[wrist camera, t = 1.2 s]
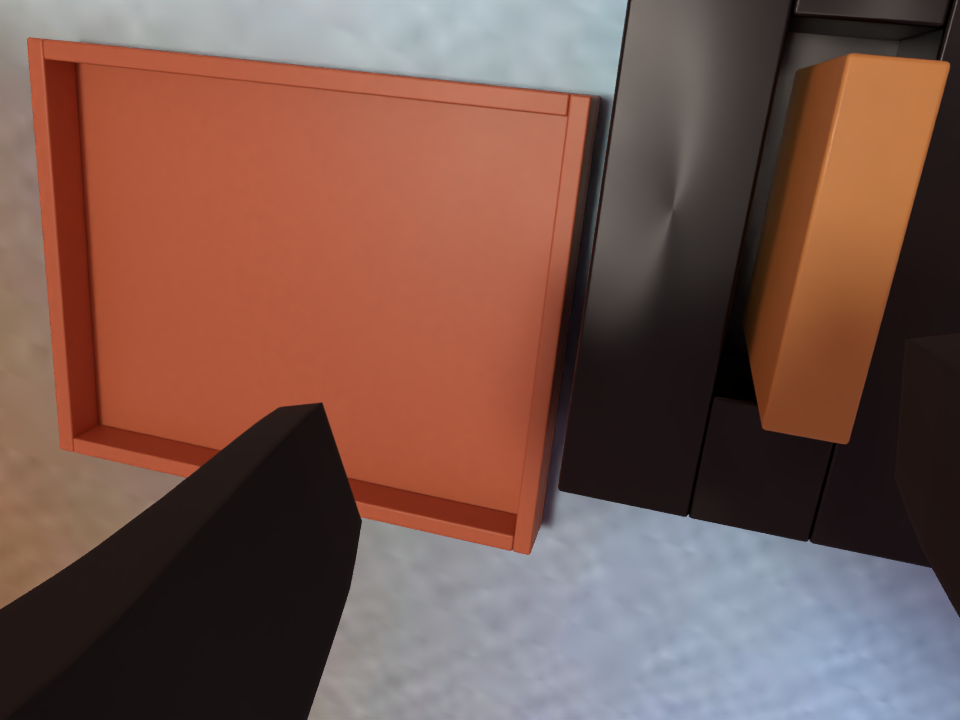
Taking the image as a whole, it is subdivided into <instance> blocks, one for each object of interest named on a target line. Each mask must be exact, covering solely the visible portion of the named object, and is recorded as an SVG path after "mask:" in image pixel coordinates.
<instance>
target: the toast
mask: <svg viewBox="0 0 960 720" xmlns="http://www.w3.org/2000/svg"><path fill="white" fill-rule="evenodd" d="M949 70H950V63H949V62H947V61H939V60H928V59H916V58H905V57H893V56H882V55H870V54H859V53H851V54H847V55H844V56H841V57H838V58H835V59H831V60H828V61H825V62H822V63H818V64H815V65H812V66H809V67H806V68H802V69H799V70H797V71H796V72H795V76H794V81H793V86H792V90H791V95H790V100H789V104H788V109H787V114H786V119H785V123H784V128H783V133H782V138H781V142H780V147H779V152H778V156H777V161H776V166H775V171H774V175H773V180H772V185H771V190H770V194H769V199H768V204H767V208H766V213H765V218H764V223H763V227H762V232H761V237H760V242H759V246H758V251H757V256H756V260H755V265H754V270H753V275H752V279H751V284H750V289H749V294H748V298H747V303H746V308H745V312H744V317H743V322H742V324H743V329H744V334H745V340H746V345H747V350H748V355H749V361H750V366H751V371H752V377H753V382H754V387H755V393H756V398H757V403H758V409H759V414H760V419H761V425H762V428H763V429H764V430H768V431H774V432H779V433H785V434H790V435H796V436H801V437H807V438H812V439H818V440H823V441H829V442H834V443H840V444H847V443H848V442H849V440H850V436H851V432H852V429H853V425H854V421H855V417H856V414H857V410H858V406H859V403H860V399H861V395H862V392H863V388H864V384H865V381H866V377H867V373H868V369H869V366H870V362H871V358H872V355H873V351H874V347H875V344H876V340H877V336H878V332H879V329H880V325H881V321H882V318H883V314H884V310H885V307H886V303H887V299H888V295H889V292H890V288H891V284H892V281H893V277H894V273H895V270H896V266H897V262H898V258H899V255H900V251H901V247H902V244H903V240H904V236H905V233H906V229H907V225H908V221H909V218H910V214H911V210H912V207H913V203H914V199H915V196H916V192H917V188H918V185H919V181H920V177H921V173H922V170H923V166H924V162H925V159H926V155H927V151H928V148H929V144H930V140H931V136H932V133H933V129H934V125H935V122H936V118H937V114H938V111H939V107H940V103H941V99H942V96H943V92H944V88H945V85H946V81H947V77H948V74H949Z"/></svg>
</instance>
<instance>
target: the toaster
mask: <svg viewBox="0 0 960 720" xmlns="http://www.w3.org/2000/svg"><path fill="white" fill-rule="evenodd" d="M851 53H859V54H870V55H882V56H893V57H905V58H916V59H928V60H939V61H947V62H949V63H950V70H949V74H948V77H947V81H946V85H945V88H944V92H943V96H942V99H941V103H940V107H939V111H938V114H937V118H936V122H935V125H934V129H933V133H932V136H931V140H930V144H929V148H928V151H927V155H926V159H925V162H924V166H923V170H922V173H921V177H920V181H919V185H918V188H917V192H916V196H915V199H914V203H913V207H912V210H911V214H910V218H909V221H908V225H907V229H906V233H905V236H904V240H903V244H902V247H901V251H900V255H899V258H898V262H897V266H896V270H895V273H894V277H893V281H892V284H891V288H890V292H889V295H888V299H887V303H886V307H885V310H884V314H883V318H882V321H881V325H880V329H879V332H878V336H877V340H876V344H875V347H874V351H873V355H872V358H871V362H870V366H869V369H868V373H867V377H866V381H865V384H864V388H863V392H862V395H861V399H860V403H859V406H858V410H857V414H856V417H855V421H854V425H853V429H852V432H851V436H850V440H849V442H848V443H847V444H840V443H834V442H829V441H823V440H818V439H812V438H807V437H801V436H796V435H790V434H785V433H779V432H774V431H768V430H764V429H763V428H762V425H761V419H760V414H759V409H758V403H757V398H756V393H755V387H754V382H753V377H752V371H751V366H750V361H749V355H748V350H747V345H746V340H745V334H744V329H743V324H742V322H743V317H744V312H745V308H746V303H747V298H748V294H749V289H750V284H751V279H752V275H753V270H754V265H755V260H756V256H757V251H758V246H759V242H760V237H761V232H762V227H763V223H764V218H765V213H766V208H767V204H768V199H769V194H770V190H771V185H772V180H773V175H774V171H775V166H776V161H777V156H778V152H779V147H780V142H781V138H782V133H783V128H784V123H785V119H786V114H787V109H788V104H789V100H790V95H791V90H792V86H793V81H794V76H795V72H796V71H797V70H799V69H802V68H806V67H809V66H812V65H815V64H818V63H822V62H825V61H828V60H831V59H835V58H838V57H841V56H844V55H847V54H851ZM957 333H960V0H628V3H627V9H626V16H625V23H624V30H623V37H622V44H621V51H620V58H619V65H618V72H617V79H616V86H615V93H614V100H613V107H612V114H611V121H610V128H609V135H608V142H607V149H606V156H605V163H604V170H603V177H602V184H601V191H600V198H599V205H598V212H597V219H596V226H595V233H594V239H593V246H592V253H591V260H590V267H589V274H588V281H587V288H586V295H585V302H584V309H583V316H582V323H581V330H580V337H579V344H578V351H577V358H576V365H575V372H574V379H573V386H572V393H571V400H570V407H569V414H568V421H567V428H566V435H565V442H564V449H563V456H562V463H561V470H560V476H559V483H558V489H559V490H560V491H563V492H568V493H573V494H577V495H582V496H587V497H592V498H597V499H602V500H606V501H611V502H616V503H621V504H626V505H630V506H635V507H640V508H645V509H650V510H655V511H659V512H664V513H669V514H674V515H679V516H683V517H686V516H687V515H688V514H689V517H691V518H693V519H698V520H703V521H708V522H712V523H717V524H722V525H727V526H732V527H737V528H741V529H746V530H751V531H756V532H761V533H766V534H770V535H775V536H780V537H785V538H790V539H794V540H799V541H804V542H806V541H808V540H810V542H812V543H814V544H819V545H824V546H829V547H833V548H838V549H843V550H848V551H853V552H857V553H862V554H867V555H872V556H877V557H882V558H886V559H891V560H896V561H901V562H906V563H910V564H915V565H920V566H925V567H930V568H932V567H931V565H930V563H929V562H928V560H927V558H926V556H925V554H924V552H923V550H922V548H921V546H920V543H919V541H918V538H917V536H916V533H915V531H914V528H913V526H912V523H911V521H910V518H909V516H908V513H907V510H906V508H905V505H904V502H903V500H902V497H901V494H900V492H899V489H898V486H897V484H896V481H895V465H896V452H897V439H898V426H899V413H900V400H901V387H902V374H903V361H904V348H905V339H910V338H920V337H929V336H938V335H947V334H957Z"/></svg>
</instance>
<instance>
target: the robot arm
mask: <svg viewBox="0 0 960 720" xmlns="http://www.w3.org/2000/svg"><path fill="white" fill-rule="evenodd" d="M895 481H896V484H897V486H898V489H899V492H900V494H901V497H902V500H903V502H904V505H905V508H906V510H907V513H908V516H909V518H910V521H911V523H912V526H913V528H914V531H915V533H916V536H917V538H918V541H919V543H920V546H921V548H922V550H923V552H924V554H925V556H926V558H927V560H928V562H929V563H930V565H931V567H932V569H933V571H934V573H935V574H936V576H937V578H938V580H939V582H940V583H941V585H942V587H943V589H944V591H945V592H946V594H947V596H948V598H949V600H950V601H951V603H952V605H953V607H954V609H955V610H956V612H957V614H958V616H959V617H960V333H957V334H947V335H938V336H929V337H920V338H910V339H905V348H904V361H903V374H902V387H901V400H900V413H899V426H898V439H897V452H896V465H895ZM361 523H362V520H361V517H360V514H359V511H358V508H357V505H356V502H355V499H354V496H353V493H352V490H351V487H350V484H349V481H348V478H347V475H346V472H345V469H344V466H343V463H342V460H341V457H340V454H339V451H338V448H337V445H336V442H335V439H334V436H333V433H332V430H331V427H330V424H329V421H328V418H327V415H326V412H325V409H324V406H323V403H322V402H320V403H311V404H302V405H293V406H283V407H279V408H277V409H276V410H274V411H272V412H271V413H269V414H268V415H266V416H265V417H263V418H262V419H261V420H259V421H258V422H257V423H255V424H254V425H253V426H251V427H250V428H249V429H247V430H246V431H245V432H244V433H242V434H241V435H240V436H239V437H237V438H236V439H235V440H233V441H232V442H231V443H230V444H228V445H227V446H226V447H225V448H224V449H222V450H221V451H220V452H219V453H217V454H216V455H215V456H214V457H212V458H211V459H210V460H209V461H207V462H206V463H205V464H204V465H202V466H201V467H200V468H199V469H197V470H196V471H195V472H194V473H192V474H191V475H190V476H189V477H187V478H186V479H185V480H184V481H182V482H181V483H180V484H179V485H177V486H176V487H175V488H174V489H172V490H171V491H170V492H169V493H167V494H166V495H165V496H164V497H162V498H161V499H160V500H158V501H157V502H156V503H154V504H153V505H152V506H150V507H149V508H148V509H146V510H145V511H144V512H142V513H141V514H140V515H138V516H137V517H136V518H134V519H133V520H132V521H130V522H129V523H128V524H126V525H125V526H124V527H122V528H121V529H120V530H118V531H117V532H116V533H114V534H113V535H112V536H110V537H109V538H107V539H106V540H105V541H103V542H102V543H101V544H99V545H98V546H97V547H95V548H94V549H93V550H91V551H90V552H88V553H87V554H85V555H84V556H83V557H81V558H80V559H78V560H77V561H75V562H74V563H72V564H71V565H69V566H68V567H66V568H65V569H63V570H62V571H60V572H59V573H57V574H56V575H54V576H53V577H51V578H50V579H48V580H47V581H45V582H43V583H42V584H40V585H39V586H37V587H35V588H34V589H32V590H31V591H29V592H28V593H26V594H24V595H23V596H21V597H20V598H18V599H17V600H15V601H13V602H12V603H10V604H8V605H7V606H5V607H3V608H2V609H0V720H307V719H308V716H309V713H310V710H311V706H312V703H313V700H314V697H315V694H316V691H317V688H318V685H319V682H320V679H321V676H322V673H323V670H324V667H325V664H326V661H327V658H328V655H329V652H330V649H331V646H332V643H333V640H334V637H335V634H336V631H337V628H338V625H339V622H340V618H341V615H342V612H343V609H344V606H345V603H346V600H347V596H348V593H349V590H350V586H351V580H352V575H353V570H354V565H355V560H356V554H357V548H358V542H359V536H360V529H361Z"/></svg>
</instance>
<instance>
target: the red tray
mask: <svg viewBox="0 0 960 720" xmlns="http://www.w3.org/2000/svg"><path fill="white" fill-rule="evenodd" d="M27 45H28V57H29V70H30V82H31V94H32V106H33V119H34V131H35V143H36V155H37V168H38V180H39V192H40V204H41V217H42V229H43V241H44V253H45V266H46V278H47V290H48V302H49V315H50V327H51V339H52V351H53V364H54V376H55V388H56V400H57V413H58V425H59V437H60V448H61V449H62V450H67V451H71V452H76V453H80V454H84V455H89V456H93V457H98V458H102V459H107V460H111V461H115V462H120V463H124V464H129V465H133V466H138V467H142V468H146V469H151V470H155V471H160V472H164V473H169V474H173V475H177V476H182V477H186V478H187V477H189V476H190V475H191V474H192V473H194V472H195V471H196V470H197V469H199V468H200V467H201V466H202V465H204V464H205V463H206V462H207V461H209V460H210V459H211V458H212V457H214V456H215V455H216V454H217V453H219V452H220V451H221V450H222V449H224V448H225V447H226V446H227V445H228V444H230V443H231V442H232V441H233V440H235V439H236V438H237V437H239V436H240V435H241V434H242V433H244V432H245V431H246V430H247V429H249V428H250V427H251V426H253V425H254V424H255V423H257V422H258V421H259V420H261V419H262V418H263V417H265V416H266V415H268V414H269V413H271V412H272V411H274V410H276V409H277V408H279V407H283V406H293V405H302V404H311V403H320V402H322V403H323V406H324V409H325V412H326V415H327V418H328V421H329V424H330V427H331V430H332V433H333V436H334V439H335V442H336V445H337V448H338V451H339V454H340V457H341V460H342V463H343V466H344V469H345V472H346V475H347V478H348V481H349V484H350V487H351V490H352V493H353V496H354V499H355V502H356V505H357V508H358V511H359V514H360V517H363V518H368V519H372V520H376V521H381V522H385V523H390V524H394V525H399V526H403V527H407V528H412V529H416V530H421V531H425V532H430V533H434V534H438V535H443V536H447V537H452V538H456V539H460V540H465V541H469V542H474V543H478V544H483V545H487V546H491V547H496V548H500V549H505V550H509V551H511V550H512V549H513V551H514V552H518V553H522V554H527V555H529V554H530V553H531V550H532V548H533V545H534V542H535V540H536V537H537V534H538V531H539V529H540V526H541V523H542V516H543V509H544V502H545V495H546V487H547V480H548V473H549V466H550V459H551V451H552V444H553V437H554V430H555V422H556V415H557V408H558V401H559V393H560V386H561V379H562V372H563V365H564V357H565V350H566V343H567V336H568V328H569V321H570V314H571V307H572V299H573V292H574V285H575V278H576V271H577V263H578V256H579V249H580V242H581V234H582V227H583V220H584V213H585V205H586V198H587V191H588V184H589V177H590V169H591V162H592V155H593V148H594V140H595V133H596V126H597V119H598V111H599V104H600V97H599V96H593V95H584V94H574V93H564V92H555V91H545V90H535V89H526V88H516V87H506V86H497V85H487V84H477V83H468V82H458V81H449V80H439V79H429V78H420V77H410V76H400V75H391V74H381V73H371V72H362V71H352V70H342V69H333V68H323V67H314V66H304V65H294V64H285V63H275V62H265V61H256V60H246V59H236V58H227V57H217V56H207V55H198V54H188V53H178V52H169V51H159V50H150V49H140V48H130V47H121V46H111V45H101V44H92V43H82V42H72V41H61V40H51V39H40V38H27Z"/></svg>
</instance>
